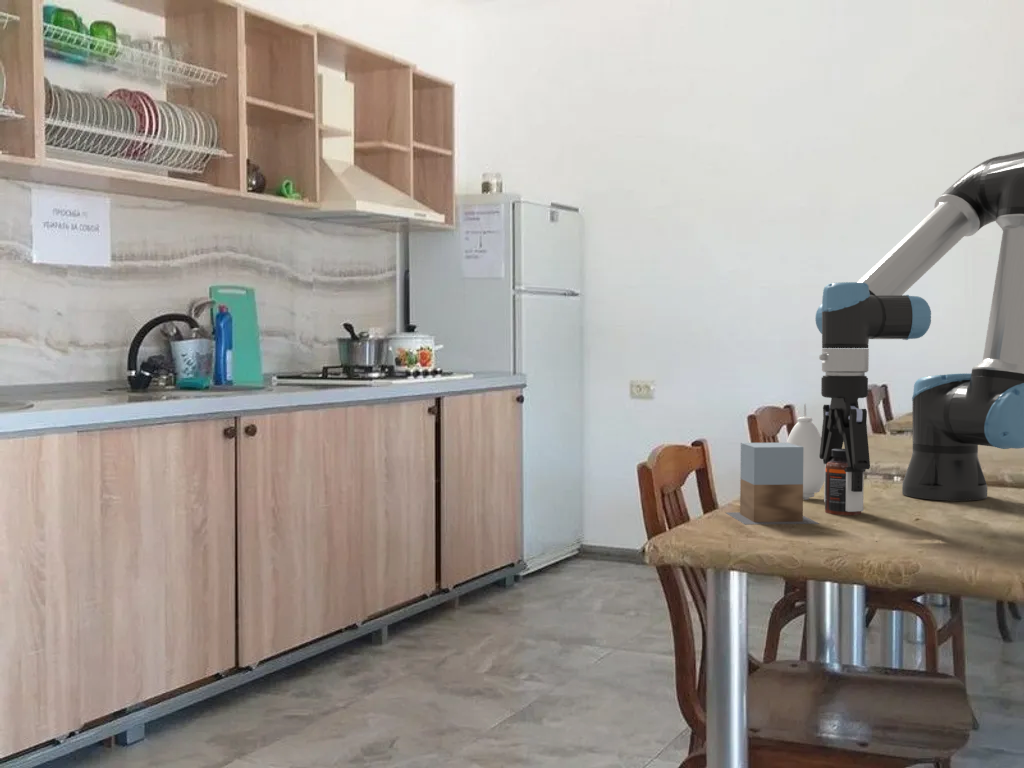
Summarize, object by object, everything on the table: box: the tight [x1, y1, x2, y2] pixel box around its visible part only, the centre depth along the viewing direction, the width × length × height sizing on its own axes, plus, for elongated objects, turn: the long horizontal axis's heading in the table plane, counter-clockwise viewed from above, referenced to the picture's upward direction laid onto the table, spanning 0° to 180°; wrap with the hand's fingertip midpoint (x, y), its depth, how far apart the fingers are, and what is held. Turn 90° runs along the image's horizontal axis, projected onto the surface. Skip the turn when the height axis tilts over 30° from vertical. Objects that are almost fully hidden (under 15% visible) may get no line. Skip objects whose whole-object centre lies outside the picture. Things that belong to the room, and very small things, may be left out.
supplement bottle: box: [824, 448, 862, 516], centre depth 184 cm, size 6×6×11 cm
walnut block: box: [739, 479, 804, 522], centre depth 178 cm, size 8×8×6 cm
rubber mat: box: [725, 511, 820, 526], centre depth 178 cm, size 12×12×1 cm
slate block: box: [740, 442, 803, 485], centre depth 178 cm, size 8×8×6 cm
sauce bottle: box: [785, 403, 826, 501], centre depth 204 cm, size 8×8×18 cm
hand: (843, 506), depth 184 cm, fingers open, 9 cm apart
